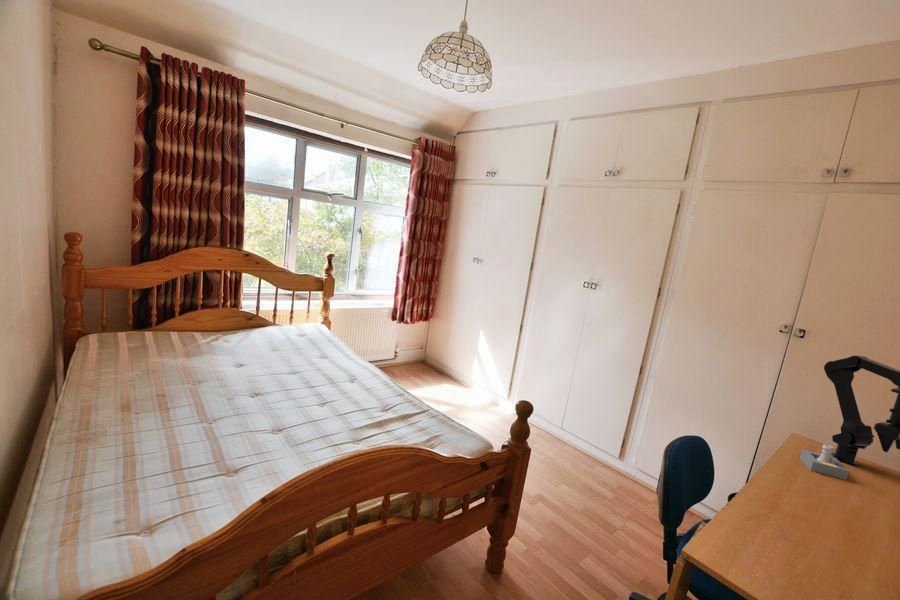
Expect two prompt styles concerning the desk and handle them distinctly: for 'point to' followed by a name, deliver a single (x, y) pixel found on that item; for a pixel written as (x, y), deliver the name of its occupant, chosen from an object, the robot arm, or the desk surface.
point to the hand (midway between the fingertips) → (891, 450)
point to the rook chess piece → (826, 454)
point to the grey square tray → (824, 465)
